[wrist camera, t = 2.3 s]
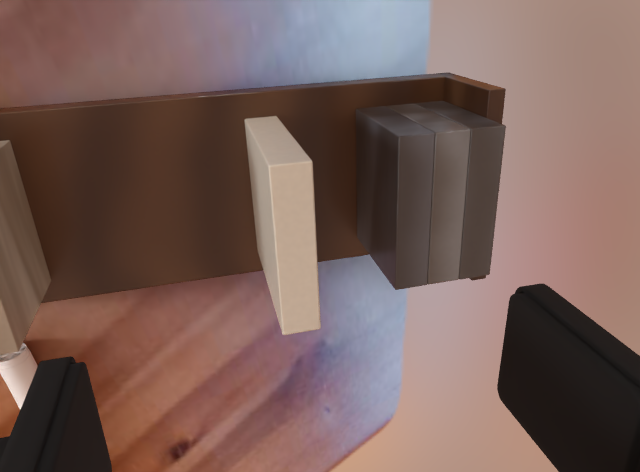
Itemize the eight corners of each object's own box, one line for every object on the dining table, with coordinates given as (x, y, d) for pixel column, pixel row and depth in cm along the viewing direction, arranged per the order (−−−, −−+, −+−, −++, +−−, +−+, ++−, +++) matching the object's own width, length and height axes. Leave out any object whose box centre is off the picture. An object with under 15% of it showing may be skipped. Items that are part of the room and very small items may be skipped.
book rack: (448, 72, 35) (526, 94, 27) (438, 235, 40) (502, 294, 32) (-89, 115, 29) (-192, 160, 21) (-20, 301, 34) (-82, 394, 26)
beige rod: (116, 510, 44) (113, 536, 42) (90, 518, 44) (86, 544, 41) (30, 338, 36) (21, 359, 34) (-2, 347, 36) (-13, 368, 33)
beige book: (276, 115, 32) (312, 160, 23) (286, 247, 36) (321, 329, 27) (243, 118, 32) (268, 165, 23) (257, 251, 36) (282, 336, 27)
